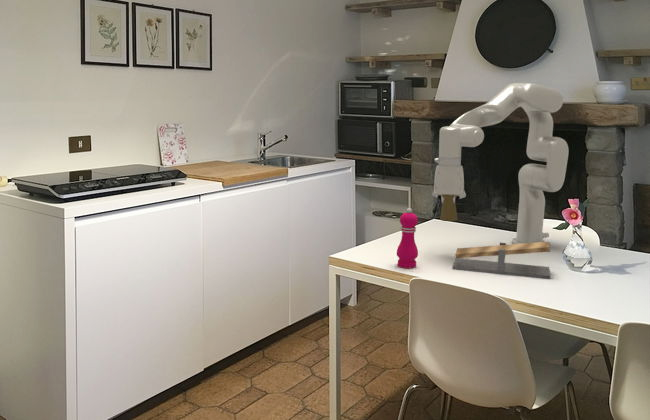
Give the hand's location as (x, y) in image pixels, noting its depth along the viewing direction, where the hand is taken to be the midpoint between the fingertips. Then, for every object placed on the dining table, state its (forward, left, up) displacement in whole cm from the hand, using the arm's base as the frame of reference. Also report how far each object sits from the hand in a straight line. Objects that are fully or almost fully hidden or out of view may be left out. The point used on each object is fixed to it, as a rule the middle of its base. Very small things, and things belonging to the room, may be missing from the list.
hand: (448, 213), depth 219 cm
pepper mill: (+20, +2, -16) cm, 26 cm away
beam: (-5, +21, -10) cm, 24 cm away
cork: (0, 0, -2) cm, 2 cm away
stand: (-5, +21, -16) cm, 27 cm away
